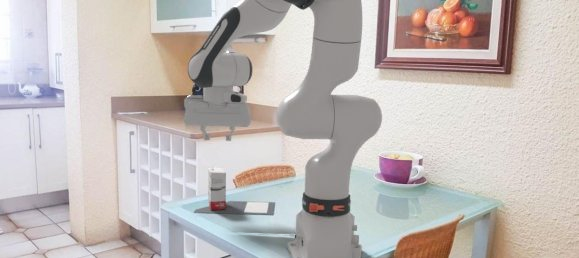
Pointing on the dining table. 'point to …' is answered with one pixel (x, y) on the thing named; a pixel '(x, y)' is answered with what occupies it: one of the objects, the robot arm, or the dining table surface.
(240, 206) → the mat
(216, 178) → the ink box
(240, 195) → the dining table surface
